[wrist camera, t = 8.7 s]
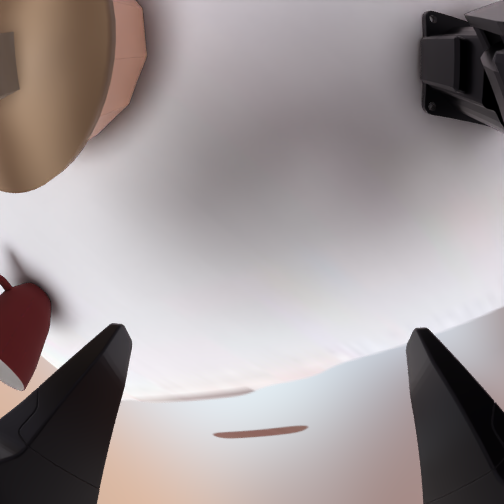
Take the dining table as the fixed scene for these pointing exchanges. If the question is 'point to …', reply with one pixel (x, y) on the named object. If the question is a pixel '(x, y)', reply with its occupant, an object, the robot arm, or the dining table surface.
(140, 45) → the bowl
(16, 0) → the lid
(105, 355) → the robot arm
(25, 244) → the dining table surface
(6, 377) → the mug
